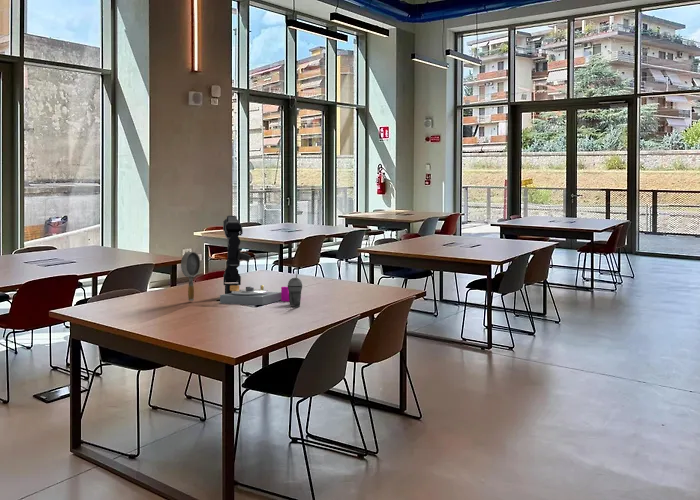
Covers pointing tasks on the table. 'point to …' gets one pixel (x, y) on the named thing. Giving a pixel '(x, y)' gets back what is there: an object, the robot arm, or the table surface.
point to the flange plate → (246, 291)
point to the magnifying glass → (190, 270)
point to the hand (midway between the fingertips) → (233, 278)
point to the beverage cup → (295, 291)
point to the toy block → (284, 294)
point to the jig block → (250, 298)
